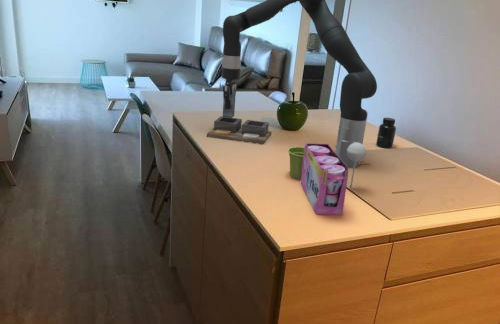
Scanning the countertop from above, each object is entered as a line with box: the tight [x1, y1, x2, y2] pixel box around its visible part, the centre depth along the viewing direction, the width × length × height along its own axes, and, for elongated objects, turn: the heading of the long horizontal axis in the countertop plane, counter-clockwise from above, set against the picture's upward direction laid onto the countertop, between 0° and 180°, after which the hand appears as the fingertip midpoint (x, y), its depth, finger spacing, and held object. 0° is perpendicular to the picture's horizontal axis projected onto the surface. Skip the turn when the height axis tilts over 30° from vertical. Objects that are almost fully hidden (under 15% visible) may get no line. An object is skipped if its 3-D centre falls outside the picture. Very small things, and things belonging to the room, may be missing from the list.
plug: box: [222, 89, 237, 118], centre depth 188 cm, size 4×4×11 cm
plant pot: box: [287, 146, 305, 180], centre depth 148 cm, size 9×9×9 cm
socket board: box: [206, 115, 272, 145], centre depth 188 cm, size 16×24×6 cm, turn 77°
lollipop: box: [347, 143, 367, 189], centre depth 140 cm, size 6×6×15 cm
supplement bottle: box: [375, 117, 397, 149], centre depth 188 cm, size 7×7×12 cm
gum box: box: [300, 142, 350, 216], centre depth 130 cm, size 24×8×14 cm, turn 5°
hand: (229, 107), depth 189 cm, fingers closed on plug, 4 cm apart
